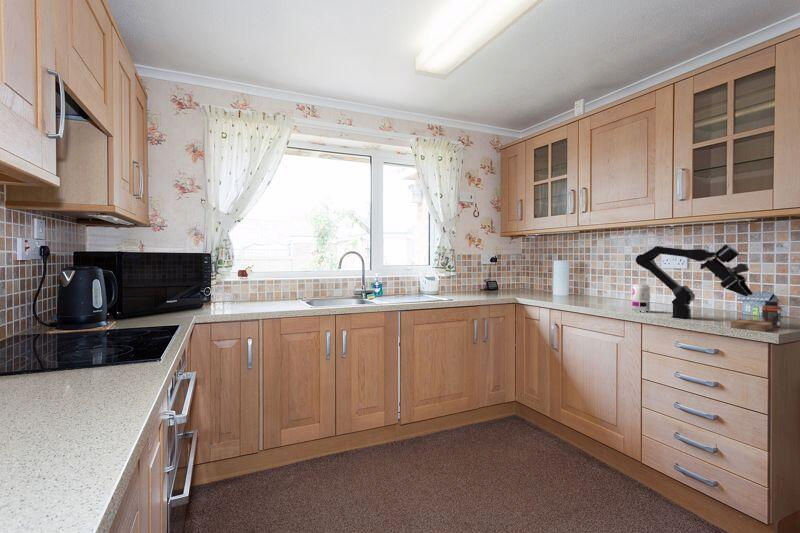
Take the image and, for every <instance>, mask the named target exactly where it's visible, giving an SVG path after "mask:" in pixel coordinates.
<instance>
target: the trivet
mask: <svg viewBox="0 0 800 533" xmlns="http://www.w3.org/2000/svg"><path fill="white" fill-rule="evenodd" d="M730 328H731V329H738V328H741V330H747V329H750V330H749V331H756V330H761V331H760V332H764V331H765V332H767V330H768V331H770V330H772V329H773V328H772V322H764V321H762V320H752V319H741V318H738V319H736V320H732V321H730Z"/></svg>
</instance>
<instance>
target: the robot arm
mask: <svg viewBox="0 0 800 533" xmlns="http://www.w3.org/2000/svg"><path fill="white" fill-rule="evenodd" d="M660 255H666V256H673V257H674V256H676V257H681V258H682V257H683V258H687V259H691V260H693V261H697V262H703V263H700V267H699V269H700V270H705V269H707V270H708V271H710V272H711V274H713V275H714V277H715V278H718V279H719V280H720V286H721V287H722V288H723V289H725V290H728V291H731V292H734V293H736V294H738V295H741V296H744V297H748V296H749V295H750V296H752V295H753V294H754V293H753V291H752V290H751V288H750V287H749V286H748V285H747V283H746V282H747V277H745V276H744V274H740V273H744V272H748V271H750V268H749V266H748V265H747V264H746V263H738V264H736V266H734V267H730V266H726V264H724V263H731V262H732V261H733V260H734V259H736V257H738V256H739V255H740V252H738V251H737V250H736V249H735V248H732V247H731V246H729V245H728V244H724V245H723V246H722V247H721V248H720V249H718V250H717V251H711V252H710V251H709V250H708V249H705V248H698V249H697V248H695V249H694V248H693V249H686V248H685V249H684V248H683V249H682V248H677V247H676V248H674V247H665V246H662V245H656V246H654V247H653V248H651V249H649V250H648V251H646V252H644V253H643V254H638V255H637V256H636V257H635V263H636V264H637V265H638V266H640V267H642V268H644V269H646V270H647V271H649V272H650V273H651V274H653V275H654V276H655V277H656V278H657V279H658V280H660V282H662V284H664V285H665V286H666V287H667V288H668V289H669V290H670V291H672V294H673V295H674V297H675V298H674V299H673V300H672V301H671V304H672V315H671V318H676V319H684V320H685V319H691V318H692V316H691V315H692V311H691V310H692V308H690V304H691V302H693V301H694V300H695V298H696V296H695V293H694V290H692V289H690V287H689V286H688V285H681V284H679V283H678V282H676V281H675V280H674V279H673V278H672V277H671V276H670V275H668V273H667V272H666V271H664V270H663V269H662V268H660V267H659V266H658V265H657V262H655V259H656V258H657V257H659V256H660ZM711 258H712V259H711Z"/></svg>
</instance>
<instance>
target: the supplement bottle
mask: <svg viewBox="0 0 800 533" xmlns="http://www.w3.org/2000/svg"><path fill="white" fill-rule="evenodd" d="M764 302H765V304H764V305H762V308H761V321H764V322H772V329H773V328H774V329H779V328H781V323H782V322H781V321H782V320H781V319H782V318H781V317H782V315H781V314H782V313H781V312H782V308H781V307H780V306H779V301H777V300H765V301H764Z"/></svg>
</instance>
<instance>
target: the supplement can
mask: <svg viewBox="0 0 800 533" xmlns="http://www.w3.org/2000/svg"><path fill="white" fill-rule="evenodd" d="M650 299H651V287H650V285H649V284H647V283H645V284H644V283H634V284H633V285H632V298H631V300H632V303H631V310H632V311H633V310H634V311H633V312H635V311H644V312H643V313H646V312H645V311H648V312H650V309H651V308H650V307H651V306H650V305H651V304H650V303H651V302H650V301H651V300H650Z"/></svg>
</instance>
